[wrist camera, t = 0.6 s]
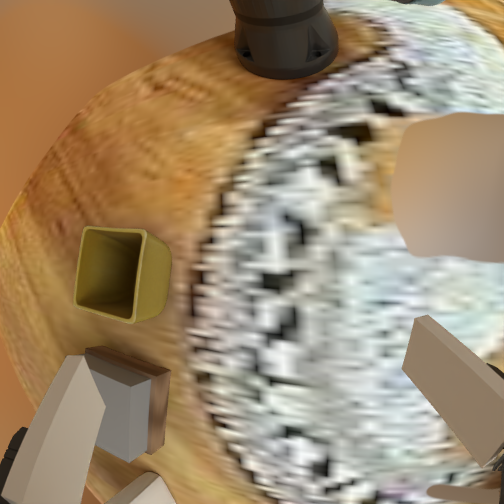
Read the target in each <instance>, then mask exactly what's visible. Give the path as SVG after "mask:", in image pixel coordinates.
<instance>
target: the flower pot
mask: <svg viewBox="0 0 504 504" xmlns="http://www.w3.org/2000/svg"><path fill="white" fill-rule="evenodd" d="M171 266H172V255H171V251H170V249H169V247H168V246H167V245H166V244H165V243H164V242H163V241H161V240H160V239H158V238H157V237H155V236H154V235H152V234H151V233H149V232H147V231H146V230H144V229H128V228H108V227H97V226H85V227H84V228H83V232H82V237H81V243H80V249H79V257H78V263H77V271H76V278H75V286H74V295H73V306H74V307H76V308H78V309H81V310H84V311H88V312H91V313H94V314H97V315H101V316H104V317H108V318H111V319H114V320H117V321H121V322H124V323H129V324H134V323H137V322H141V321H144V320H147V319H150V318H153V317H155V316H157V315H159V314H160V313H161V312H162V310H163V309H164V307H165V304H166V301H167V296H168V287H169V279H170V272H171Z"/></svg>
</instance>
